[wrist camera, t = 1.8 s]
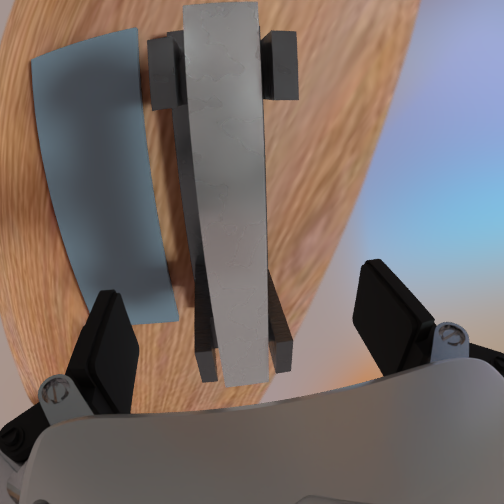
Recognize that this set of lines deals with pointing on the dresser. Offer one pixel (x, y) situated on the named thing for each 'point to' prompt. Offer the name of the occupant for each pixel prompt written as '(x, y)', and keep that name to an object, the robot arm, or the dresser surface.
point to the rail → (230, 178)
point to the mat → (103, 172)
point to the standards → (175, 96)
